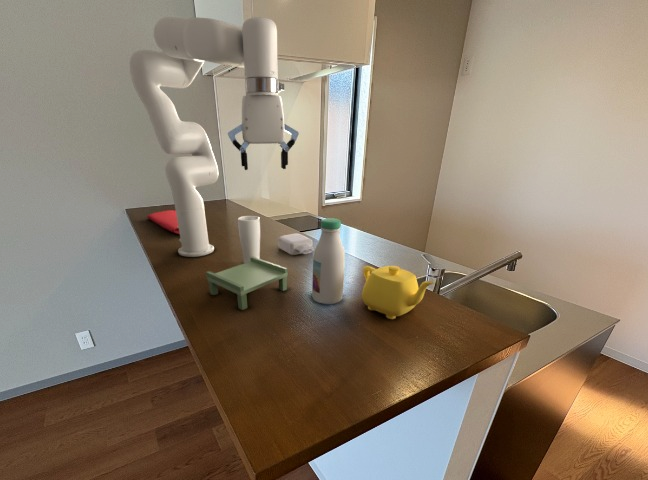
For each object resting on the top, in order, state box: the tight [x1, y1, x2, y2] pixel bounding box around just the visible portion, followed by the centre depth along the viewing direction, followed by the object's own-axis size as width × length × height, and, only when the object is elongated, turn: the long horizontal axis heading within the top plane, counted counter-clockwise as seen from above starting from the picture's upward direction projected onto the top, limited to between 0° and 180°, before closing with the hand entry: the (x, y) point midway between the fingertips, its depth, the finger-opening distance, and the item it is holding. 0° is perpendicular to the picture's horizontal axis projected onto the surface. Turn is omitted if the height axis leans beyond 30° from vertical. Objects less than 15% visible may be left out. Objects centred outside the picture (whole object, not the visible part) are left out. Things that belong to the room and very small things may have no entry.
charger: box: [277, 232, 315, 256], centre depth 113 cm, size 5×9×15 cm
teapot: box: [361, 265, 436, 320], centre depth 73 cm, size 18×11×11 cm, turn 39°
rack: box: [205, 257, 289, 311], centre depth 84 cm, size 14×16×6 cm
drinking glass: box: [237, 215, 261, 264], centre depth 100 cm, size 7×7×15 cm
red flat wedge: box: [146, 209, 180, 235], centre depth 151 cm, size 16×41×4 cm, turn 36°
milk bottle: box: [311, 217, 346, 305], centre depth 77 cm, size 8×8×20 cm
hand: (264, 169), depth 81 cm, fingers open, 9 cm apart
